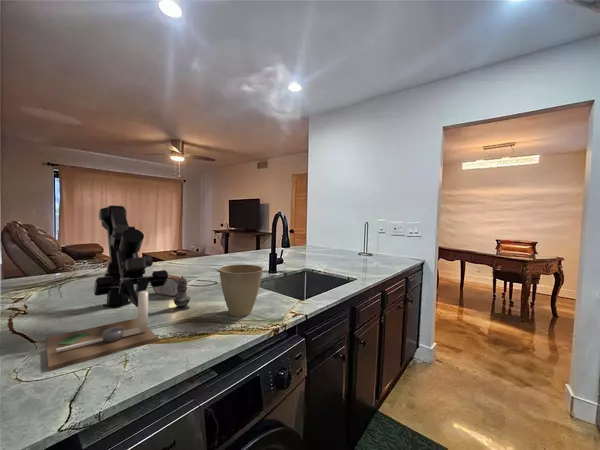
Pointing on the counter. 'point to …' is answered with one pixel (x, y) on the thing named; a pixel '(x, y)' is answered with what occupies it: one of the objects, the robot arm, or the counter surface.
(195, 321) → the counter surface
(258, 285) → the plant pot
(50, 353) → the dial plate
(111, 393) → the counter surface
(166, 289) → the tin
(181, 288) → the salt shaker
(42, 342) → the counter surface
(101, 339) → the crank handle
